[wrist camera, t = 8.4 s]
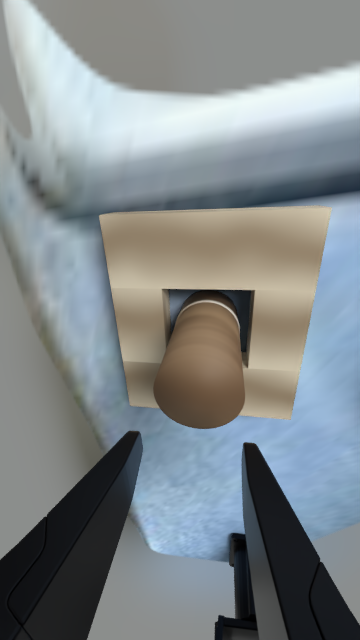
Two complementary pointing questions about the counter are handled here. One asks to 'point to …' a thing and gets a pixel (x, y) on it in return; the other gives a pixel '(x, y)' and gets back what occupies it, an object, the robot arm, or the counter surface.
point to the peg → (203, 364)
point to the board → (218, 288)
